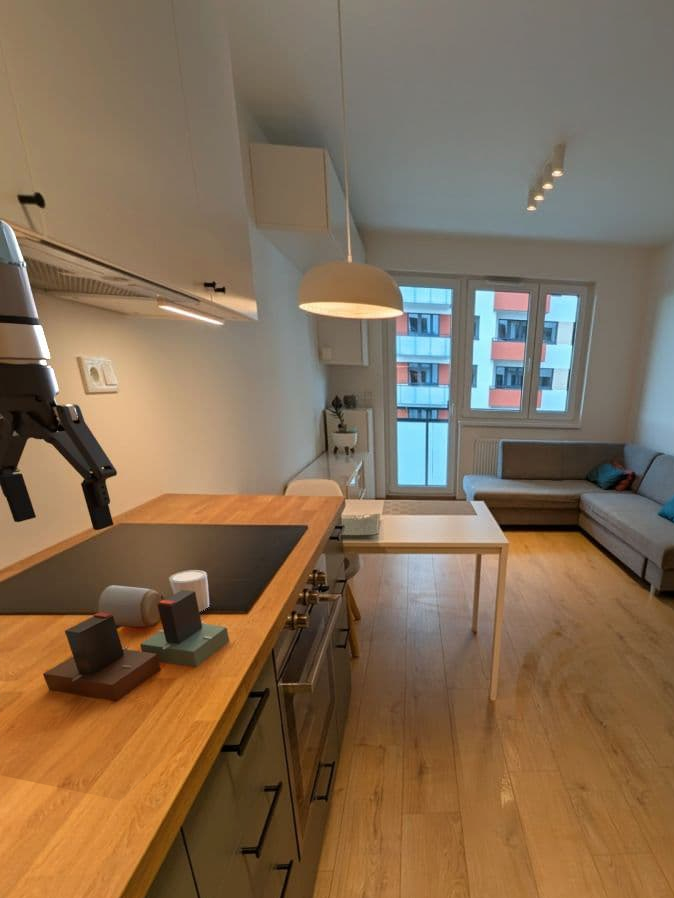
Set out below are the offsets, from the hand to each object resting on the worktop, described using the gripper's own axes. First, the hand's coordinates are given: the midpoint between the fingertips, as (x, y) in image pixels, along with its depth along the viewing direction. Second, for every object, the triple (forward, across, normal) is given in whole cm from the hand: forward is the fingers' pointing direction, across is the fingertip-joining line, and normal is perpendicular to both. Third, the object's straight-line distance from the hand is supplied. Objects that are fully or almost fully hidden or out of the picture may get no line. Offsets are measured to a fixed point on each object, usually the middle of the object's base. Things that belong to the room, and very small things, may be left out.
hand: (64, 523), depth 74 cm
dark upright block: (+21, +10, +7) cm, 24 cm away
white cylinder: (+24, 0, +22) cm, 32 cm away
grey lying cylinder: (+24, -6, +14) cm, 28 cm away
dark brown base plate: (+24, +4, -4) cm, 24 cm away
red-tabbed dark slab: (+21, +4, -4) cm, 21 cm away
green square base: (+24, +10, +7) cm, 27 cm away
